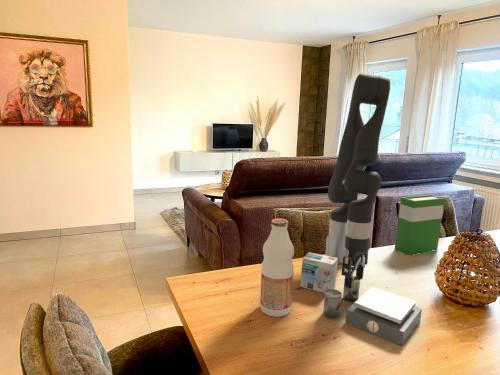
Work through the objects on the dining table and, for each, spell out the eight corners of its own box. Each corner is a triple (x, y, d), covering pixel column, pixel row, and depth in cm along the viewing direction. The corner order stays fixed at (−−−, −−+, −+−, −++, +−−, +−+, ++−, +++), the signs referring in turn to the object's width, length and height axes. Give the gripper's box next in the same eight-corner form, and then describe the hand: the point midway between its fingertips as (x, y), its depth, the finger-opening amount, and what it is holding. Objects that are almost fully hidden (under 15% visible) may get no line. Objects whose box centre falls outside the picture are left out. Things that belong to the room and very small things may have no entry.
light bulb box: (299, 287, 128) (301, 257, 126) (306, 279, 134) (308, 251, 132) (330, 295, 123) (332, 264, 121) (335, 286, 129) (338, 257, 127)
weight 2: (340, 299, 121) (342, 278, 119) (346, 293, 125) (348, 274, 123) (354, 304, 118) (356, 283, 116) (360, 298, 122) (362, 278, 120)
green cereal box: (423, 245, 174) (430, 194, 169) (437, 250, 167) (444, 198, 162) (394, 249, 166) (400, 197, 161) (407, 255, 160) (414, 201, 155)
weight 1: (320, 314, 111) (322, 292, 110) (327, 308, 115) (329, 287, 113) (334, 320, 108) (337, 298, 107) (342, 314, 112) (344, 292, 110)
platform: (353, 306, 107) (354, 302, 106) (372, 290, 116) (372, 287, 116) (400, 323, 99) (400, 319, 98) (415, 305, 108) (416, 301, 108)
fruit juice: (270, 320, 107) (275, 227, 101) (254, 305, 115) (257, 218, 109) (297, 313, 112) (303, 223, 106) (279, 298, 120) (284, 214, 114)
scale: (344, 323, 107) (345, 309, 106) (367, 301, 120) (369, 289, 119) (401, 346, 97) (403, 331, 96) (420, 320, 110) (422, 307, 109)
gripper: (356, 227, 124) (352, 272, 127) (336, 236, 113) (332, 286, 116) (378, 231, 120) (373, 279, 123) (360, 242, 109) (355, 294, 112)
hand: (353, 282), depth 120 cm, fingers open, 8 cm apart
